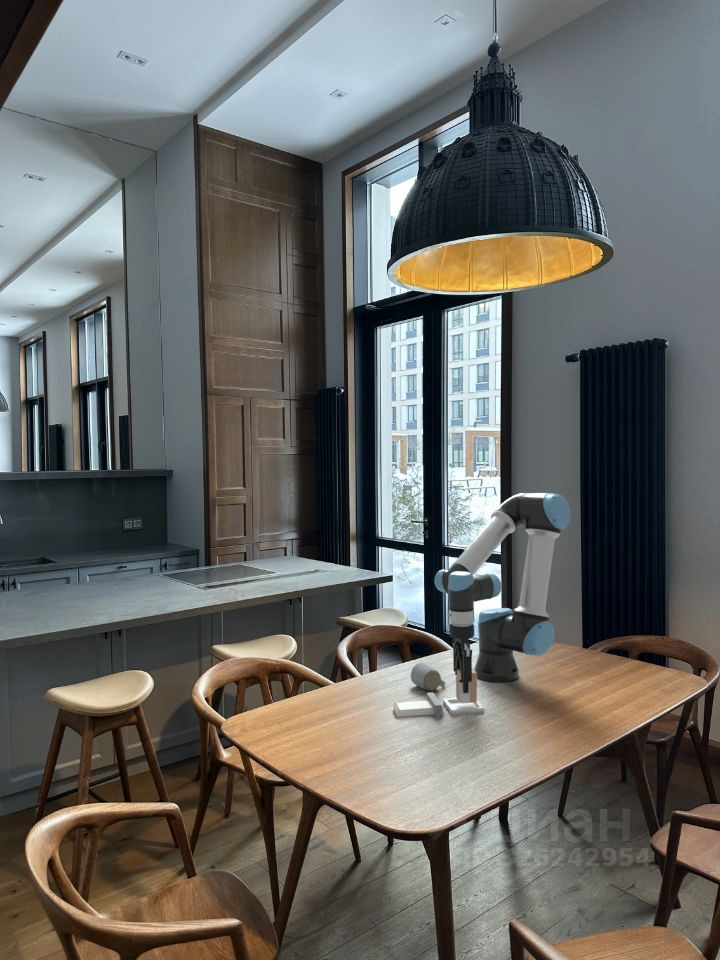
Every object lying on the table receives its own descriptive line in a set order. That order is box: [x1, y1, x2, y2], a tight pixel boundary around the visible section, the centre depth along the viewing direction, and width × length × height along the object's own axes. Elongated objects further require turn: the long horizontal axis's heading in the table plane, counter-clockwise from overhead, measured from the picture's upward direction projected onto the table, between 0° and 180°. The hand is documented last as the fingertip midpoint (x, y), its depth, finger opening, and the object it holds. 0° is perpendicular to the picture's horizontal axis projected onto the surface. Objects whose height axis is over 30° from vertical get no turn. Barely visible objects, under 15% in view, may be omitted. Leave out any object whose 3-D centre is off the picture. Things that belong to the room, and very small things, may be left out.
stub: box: [457, 668, 478, 703], centre depth 208 cm, size 5×4×9 cm
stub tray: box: [442, 697, 485, 716], centre depth 208 cm, size 10×10×2 cm
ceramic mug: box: [410, 662, 446, 692], centre depth 228 cm, size 11×8×8 cm
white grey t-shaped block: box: [392, 692, 444, 718], centre depth 206 cm, size 14×11×4 cm
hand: (462, 699), depth 208 cm, fingers closed on stub, 4 cm apart
